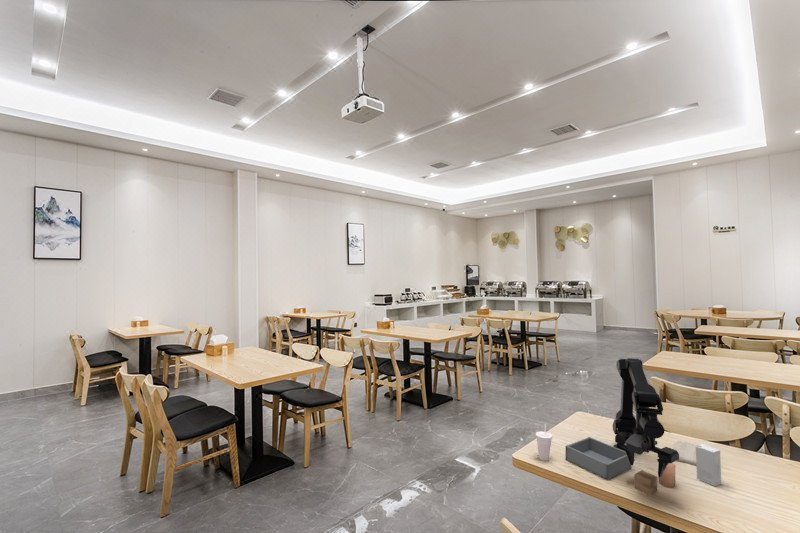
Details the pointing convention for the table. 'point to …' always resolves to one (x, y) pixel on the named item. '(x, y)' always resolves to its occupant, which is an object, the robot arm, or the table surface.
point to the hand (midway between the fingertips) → (645, 470)
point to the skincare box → (708, 464)
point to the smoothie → (544, 444)
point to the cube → (645, 482)
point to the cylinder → (668, 476)
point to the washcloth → (686, 452)
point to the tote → (598, 457)
